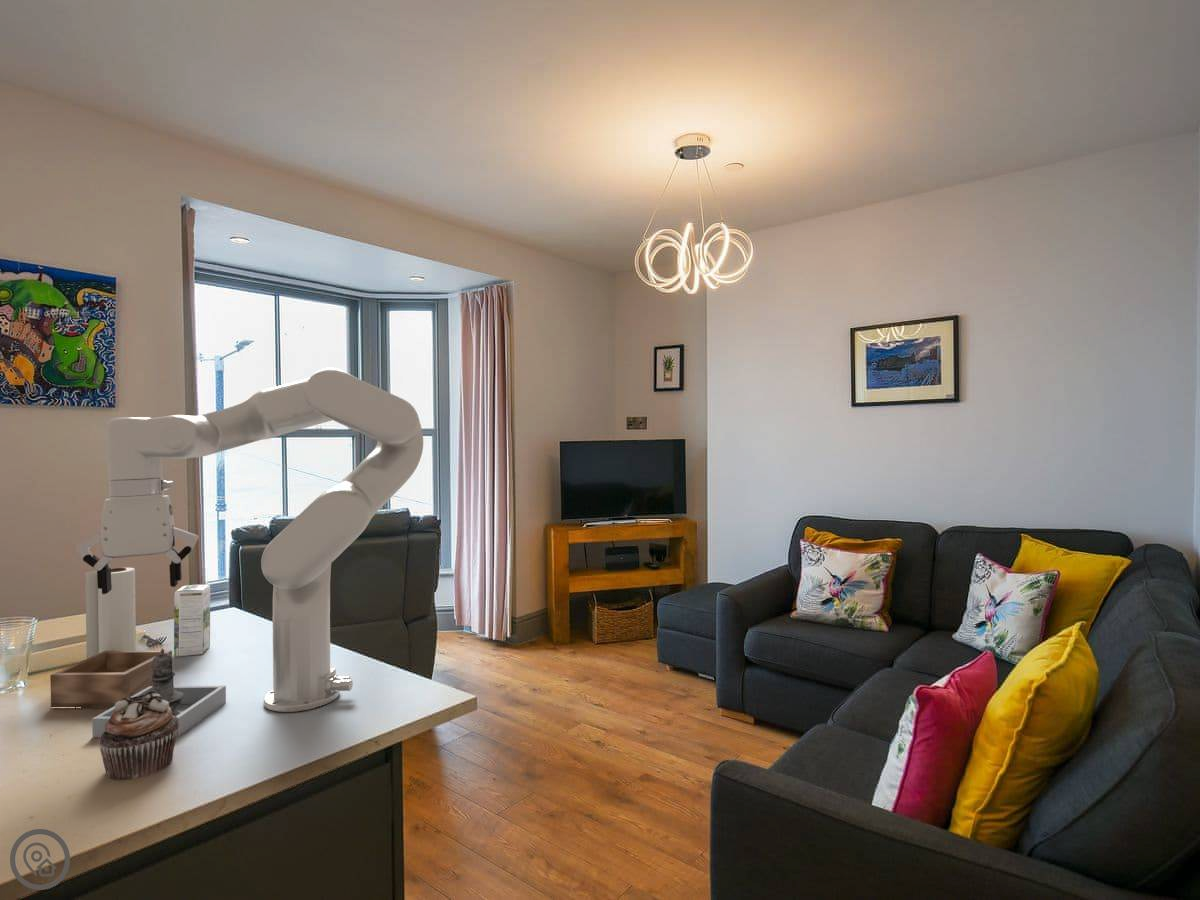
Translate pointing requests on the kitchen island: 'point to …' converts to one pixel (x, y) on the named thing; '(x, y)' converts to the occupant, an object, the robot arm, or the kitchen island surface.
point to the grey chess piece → (165, 681)
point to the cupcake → (139, 737)
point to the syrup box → (191, 620)
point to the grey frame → (199, 696)
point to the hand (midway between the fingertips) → (141, 588)
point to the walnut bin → (103, 679)
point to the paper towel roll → (111, 613)
